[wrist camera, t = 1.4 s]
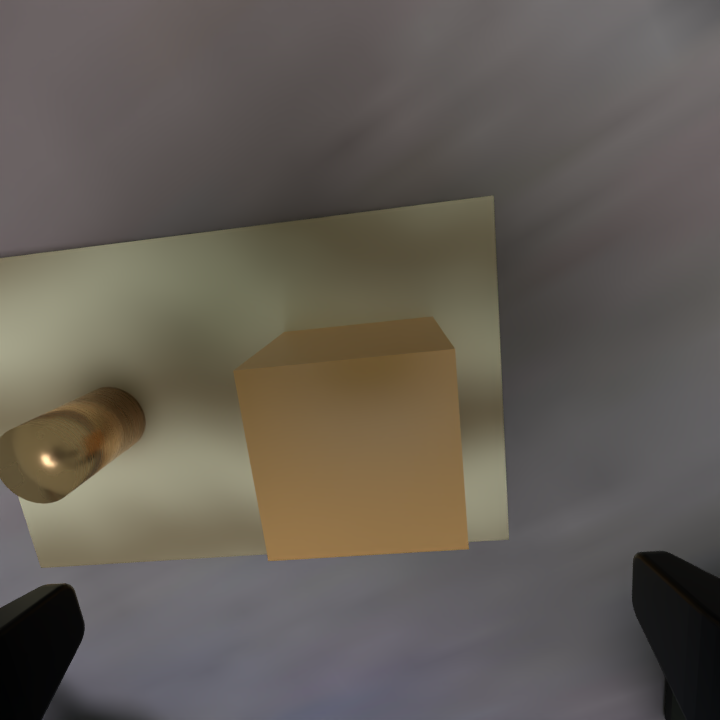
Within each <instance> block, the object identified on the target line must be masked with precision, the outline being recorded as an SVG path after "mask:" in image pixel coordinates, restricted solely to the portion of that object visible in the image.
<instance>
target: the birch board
mask: <svg viewBox="0 0 720 720" xmlns="http://www.w3.org/2000/svg"><path fill="white" fill-rule="evenodd" d="M432 316H433V318H434V319H435V321H436V322H437V323H438V325H439V326H440V328H441V329H442V331H443V332H444V334H445V335H446V336H447V338H448V339H449V341H450V342H451V344H452V345H453V347H454V348H455V355H456V369H457V384H458V399H459V413H460V428H461V443H462V457H463V472H464V487H465V501H466V516H467V531H468V542H476V541H493V540H509V530H508V508H507V485H506V463H505V440H504V418H503V395H502V373H501V350H500V328H499V305H498V283H497V261H496V238H495V216H494V196H486V197H478V198H470V199H462V200H454V201H446V202H439V203H431V204H423V205H415V206H407V207H399V208H391V209H383V210H376V211H368V212H360V213H352V214H344V215H336V216H328V217H321V218H313V219H305V220H297V221H289V222H281V223H273V224H265V225H258V226H250V227H242V228H234V229H226V230H218V231H210V232H203V233H195V234H187V235H179V236H171V237H163V238H155V239H147V240H140V241H132V242H124V243H116V244H108V245H100V246H92V247H85V248H77V249H69V250H61V251H53V252H45V253H37V254H30V255H22V256H14V257H6V258H0V437H1V436H2V435H3V434H4V433H6V432H7V431H8V430H10V429H12V428H15V427H17V426H19V425H21V424H23V423H25V422H27V421H30V420H32V419H34V418H36V417H38V416H40V415H42V414H45V413H47V412H49V411H51V410H53V409H55V408H57V407H60V406H62V405H64V404H66V403H68V402H70V401H72V400H75V399H77V398H79V397H81V396H83V395H85V394H87V393H90V392H92V391H94V390H96V389H98V388H102V387H115V388H119V389H122V390H124V391H126V392H128V393H129V394H131V395H132V396H133V397H134V398H135V399H136V400H137V401H138V402H139V404H140V405H141V407H142V409H143V411H144V415H145V420H146V425H145V431H144V433H143V435H142V437H141V439H140V440H139V441H138V442H137V443H136V444H134V445H133V446H132V447H130V448H129V449H128V450H126V451H125V452H124V453H122V454H121V455H120V456H118V457H117V458H116V459H114V460H113V461H112V462H110V463H109V464H108V465H106V466H105V467H104V468H102V469H101V470H100V471H99V472H97V473H96V474H95V475H93V476H92V477H91V478H89V479H88V480H87V481H85V482H84V483H83V484H81V485H80V486H79V487H77V488H76V489H75V490H73V491H72V492H71V493H69V494H68V495H67V496H65V497H64V498H62V499H61V500H59V501H56V502H53V503H47V504H41V503H34V502H30V501H27V500H25V499H23V498H21V497H19V496H18V497H19V500H20V504H21V507H22V510H23V513H24V516H25V519H26V522H27V525H28V529H29V532H30V535H31V538H32V541H33V544H34V547H35V550H36V553H37V557H38V560H39V563H40V566H41V568H47V567H64V566H80V565H97V564H113V563H130V562H146V561H163V560H179V559H196V558H212V557H229V556H245V555H262V554H267V551H266V545H265V540H264V535H263V529H262V524H261V518H260V513H259V508H258V502H257V497H256V492H255V486H254V481H253V475H252V470H251V465H250V459H249V454H248V449H247V443H246V438H245V433H244V427H243V422H242V416H241V411H240V406H239V400H238V395H237V390H236V384H235V379H234V373H233V370H235V369H236V368H237V367H239V366H240V365H241V364H243V363H244V362H245V361H246V360H248V359H249V358H250V357H252V356H253V355H254V354H256V353H257V352H258V351H260V350H261V349H262V348H264V347H265V346H266V345H268V344H269V343H270V342H272V341H273V340H274V339H276V338H277V337H278V336H279V335H281V334H282V333H283V332H289V331H298V330H308V329H317V328H327V327H337V326H346V325H356V324H365V323H375V322H384V321H394V320H403V319H413V318H422V317H432Z"/></svg>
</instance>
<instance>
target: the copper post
mask: <svg viewBox="0 0 720 720" xmlns="http://www.w3.org/2000/svg"><path fill="white" fill-rule="evenodd" d="M145 425H146V420H145V415H144V411H143V409H142V407H141V405H140V404H139V402H138V401H137V400H136V399H135V398H134V397H133V396H132V395H131V394H129V393H128V392H126V391H124V390H122V389H119V388H115V387H102V388H98V389H96V390H94V391H92V392H90V393H87V394H85V395H83V396H81V397H79V398H77V399H75V400H72V401H70V402H68V403H66V404H64V405H62V406H60V407H57V408H55V409H53V410H51V411H49V412H47V413H45V414H42V415H40V416H38V417H36V418H34V419H32V420H30V421H27V422H25V423H23V424H21V425H19V426H17V427H15V428H12V429H10V430H8V431H7V432H6V433H4V434H3V435H2V436H1V437H0V478H1V480H2V481H3V483H4V484H5V485H6V486H7V487H8V488H9V489H10V490H11V491H12V492H13V493H15V494H16V495H17V496H19V497H21V498H23V499H25V500H27V501H30V502H34V503H41V504H47V503H53V502H56V501H59V500H61V499H62V498H64V497H65V496H67V495H68V494H69V493H71V492H72V491H73V490H75V489H76V488H77V487H79V486H80V485H81V484H83V483H84V482H85V481H87V480H88V479H89V478H91V477H92V476H93V475H95V474H96V473H97V472H99V471H100V470H101V469H102V468H104V467H105V466H106V465H108V464H109V463H110V462H112V461H113V460H114V459H116V458H117V457H118V456H120V455H121V454H122V453H124V452H125V451H126V450H128V449H129V448H130V447H132V446H133V445H134V444H136V443H137V442H138V441H139V440H140V439H141V437H142V435H143V433H144V431H145Z"/></svg>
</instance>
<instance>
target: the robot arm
mask: <svg viewBox="0 0 720 720" xmlns="http://www.w3.org/2000/svg"><path fill="white" fill-rule="evenodd" d="M632 602H633V607H634V611H635V614H636V617H637V619H638V621H639V623H640V625H641V627H642V629H643V631H644V633H645V635H646V638H647V640H648V642H649V644H650V646H651V648H652V650H653V652H654V654H655V656H656V658H657V660H658V662H659V664H660V667H661V669H662V671H663V673H664V675H665V677H666V679H667V690H666V709H665V719H666V720H720V578H718V577H716V576H714V575H712V574H710V573H708V572H706V571H704V570H702V569H700V568H698V567H696V566H694V565H692V564H690V563H688V562H686V561H684V560H683V559H681V558H679V557H677V556H675V555H673V554H671V553H668V552H665V551H650V552H639V553H637V554H636V555H635V556H634V559H633V582H632ZM84 630H85V624H84V620H83V616H82V613H81V610H80V607H79V603H78V600H77V597H76V593H75V590H74V588H73V587H72V586H71V585H69V584H66V583H63V584H47V585H43V586H41V587H38V588H37V589H35V590H33V591H31V592H29V593H27V594H25V595H24V596H22V597H20V598H18V599H16V600H14V601H12V602H10V603H9V604H7V605H5V606H3V607H1V608H0V720H42V718H43V716H44V714H45V712H46V710H47V708H48V706H49V704H50V702H51V700H52V698H53V696H54V694H55V692H56V690H57V689H58V687H59V685H60V683H61V681H62V679H63V677H64V675H65V673H66V671H67V669H68V667H69V665H70V663H71V661H72V659H73V657H74V655H75V653H76V651H77V649H78V647H79V645H80V643H81V641H82V638H83V635H84Z"/></svg>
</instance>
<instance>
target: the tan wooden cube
mask: <svg viewBox="0 0 720 720" xmlns="http://www.w3.org/2000/svg"><path fill="white" fill-rule="evenodd" d="M233 373H234V379H235V384H236V390H237V395H238V400H239V406H240V411H241V416H242V422H243V427H244V433H245V438H246V443H247V449H248V454H249V459H250V465H251V470H252V475H253V481H254V486H255V492H256V497H257V502H258V508H259V513H260V518H261V524H262V529H263V535H264V540H265V545H266V551H267V556H268V561H277V560H294V559H311V558H328V557H345V556H362V555H378V554H395V553H412V552H429V551H446V550H463V549H469V545H468V531H467V516H466V501H465V487H464V472H463V457H462V443H461V428H460V413H459V399H458V384H457V369H456V355H455V348H454V347H453V345H452V344H451V342H450V341H449V339H448V338H447V336H446V335H445V334H444V332H443V331H442V329H441V328H440V326H439V325H438V323H437V322H436V321H435V319H434V318H433V316H432V317H422V318H413V319H403V320H394V321H384V322H375V323H365V324H356V325H346V326H337V327H327V328H317V329H308V330H298V331H289V332H283V333H282V334H281V335H279V336H278V337H277V338H276V339H274V340H273V341H272V342H270V343H269V344H268V345H266V346H265V347H264V348H262V349H261V350H260V351H258V352H257V353H256V354H254V355H253V356H252V357H250V358H249V359H248V360H246V361H245V362H244V363H243V364H241V365H240V366H239V367H237V368H236V369H235V370H233Z"/></svg>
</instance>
